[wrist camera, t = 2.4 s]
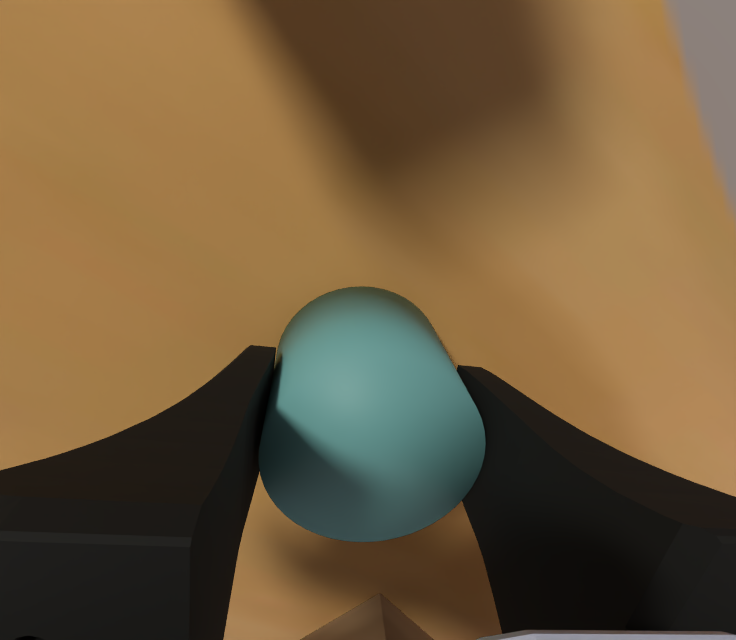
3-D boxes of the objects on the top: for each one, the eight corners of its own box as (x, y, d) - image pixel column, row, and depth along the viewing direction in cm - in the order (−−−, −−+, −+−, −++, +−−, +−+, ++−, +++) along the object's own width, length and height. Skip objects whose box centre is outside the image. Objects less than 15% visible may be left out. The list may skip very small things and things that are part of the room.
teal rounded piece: (342, 456, 14) (350, 572, 11) (241, 352, 12) (208, 447, 9) (468, 374, 13) (523, 469, 10) (378, 252, 12) (405, 310, 8)
